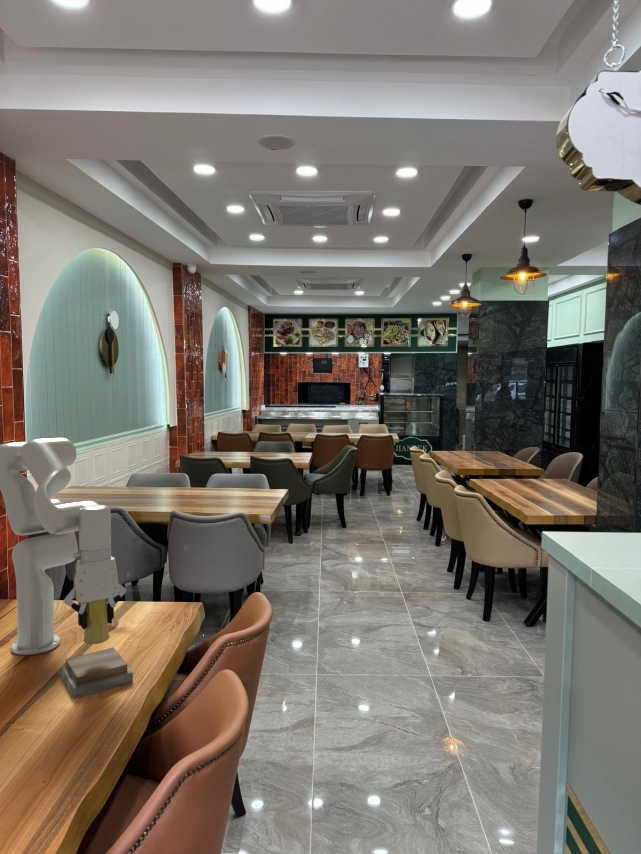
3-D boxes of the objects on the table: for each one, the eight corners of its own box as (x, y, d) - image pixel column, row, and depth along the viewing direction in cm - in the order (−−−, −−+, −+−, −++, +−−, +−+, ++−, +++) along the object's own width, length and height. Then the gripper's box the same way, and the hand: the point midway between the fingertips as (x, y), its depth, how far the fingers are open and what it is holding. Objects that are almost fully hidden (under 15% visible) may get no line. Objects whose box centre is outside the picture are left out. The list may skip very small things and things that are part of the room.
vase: (93, 646, 140) (92, 589, 139) (78, 641, 143) (77, 585, 143) (114, 638, 145) (113, 583, 145) (99, 632, 148) (98, 579, 148)
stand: (61, 675, 146) (60, 658, 146) (116, 661, 155) (116, 645, 154) (74, 698, 135) (73, 680, 135) (132, 682, 143) (132, 664, 143)
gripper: (62, 563, 135) (63, 637, 136) (134, 552, 145) (134, 621, 146) (55, 556, 141) (56, 627, 142) (125, 546, 151) (125, 613, 152)
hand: (96, 623), depth 144 cm, fingers closed on vase, 5 cm apart
